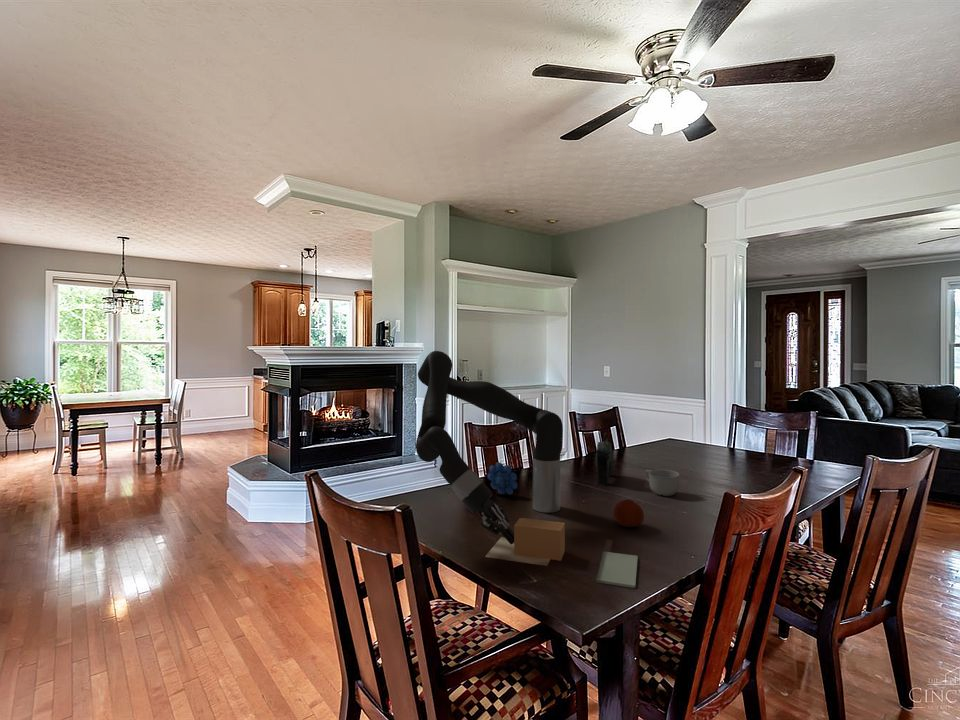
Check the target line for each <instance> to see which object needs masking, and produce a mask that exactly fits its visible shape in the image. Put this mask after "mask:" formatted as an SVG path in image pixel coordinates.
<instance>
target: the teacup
mask: <svg viewBox="0 0 960 720" xmlns="http://www.w3.org/2000/svg"><path fill="white" fill-rule="evenodd" d="M643 476H644V478H645V479H646V481H647V482H648V483H649V488H650V490H651V491H652V492H654V494H656V495H659V496H661V495H663V496H664V497H670V496H674V495H675V494H676V493H678V491H679V489H680V477H681V476H680V473H679V472H677V471H674V470H671V469H661V468H660V469H654V470H652V469H646V470H645V471H644V475H643ZM663 496H662V497H663Z"/></svg>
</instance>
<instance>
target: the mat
mask: <svg viewBox="0 0 960 720" xmlns="http://www.w3.org/2000/svg"><path fill="white" fill-rule="evenodd" d="M638 560H639V559H638V555H633V554H625V553H618V552H609V551H605V550H603V551H602V554H601V559H600V563H599V567H598V570H597V574H596V578H595V583H598V584H599V583H600V584H604V585H610V586H611V585H613V586H618V587H619V586H620V587H625V588H631V589H636V584H637V583H636V580H637V571H638Z"/></svg>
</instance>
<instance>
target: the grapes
mask: <svg viewBox="0 0 960 720" xmlns="http://www.w3.org/2000/svg"><path fill="white" fill-rule="evenodd" d="M487 479H488V480H489V481H491V482H490V486H491V488H492V489H493V490H497V492H498V494H500V495H502V494H503V495H505V494H507V495H512V494H513V493H514V490H516V489H518V483H517V481H516V480H517V479H518V478H517V474H516V473H515V472H512V468H511V466H510V465H508V464H505V465H504V464H503V463H502V462H499V461H497V462H496V464H495V465H490V466H489V473H487Z"/></svg>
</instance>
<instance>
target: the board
mask: <svg viewBox="0 0 960 720" xmlns="http://www.w3.org/2000/svg"><path fill="white" fill-rule="evenodd" d="M485 558H488V559H489V558H491V559H497V560H503V561H511V562H518V563H524V564H531V565H538V566H546V567H548V565H549V563H550V561H551V559H545V558H538V557H531V556H523V555H516V554H514V543H513V544H510V543H509V542H508V541H507V540H506V538H505V537H504V536H501V537H500V538H499V539H498V540H497V541H496V543H495V544H494V545H493V546H492V547H491V549H490V550H489V551H488V552H487V554H485Z"/></svg>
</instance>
